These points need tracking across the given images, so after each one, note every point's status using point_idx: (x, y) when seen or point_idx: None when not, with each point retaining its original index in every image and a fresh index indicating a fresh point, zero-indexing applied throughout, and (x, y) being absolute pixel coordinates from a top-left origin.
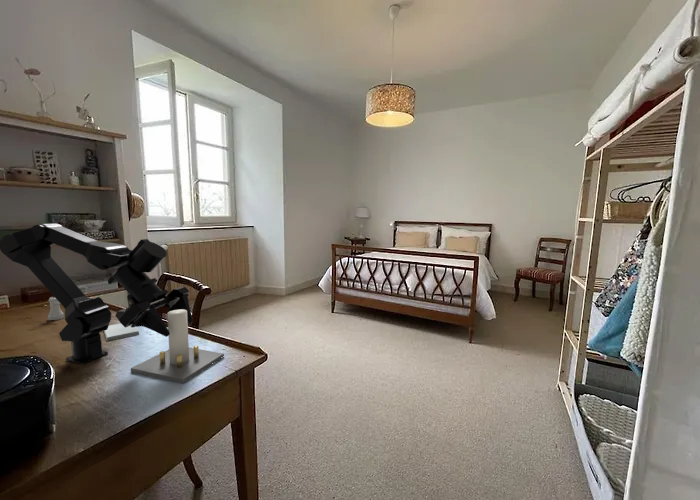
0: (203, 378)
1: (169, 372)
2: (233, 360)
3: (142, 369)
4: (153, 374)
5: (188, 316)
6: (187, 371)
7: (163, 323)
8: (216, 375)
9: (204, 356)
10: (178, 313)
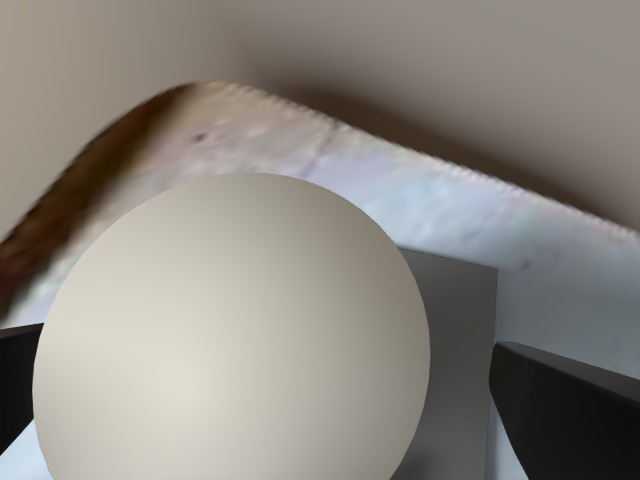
0: (426, 214)
1: (453, 385)
2: (244, 164)
3: None
4: None
5: (8, 361)
6: (422, 289)
7: (616, 382)
8: (391, 175)
9: None
10: (319, 257)
